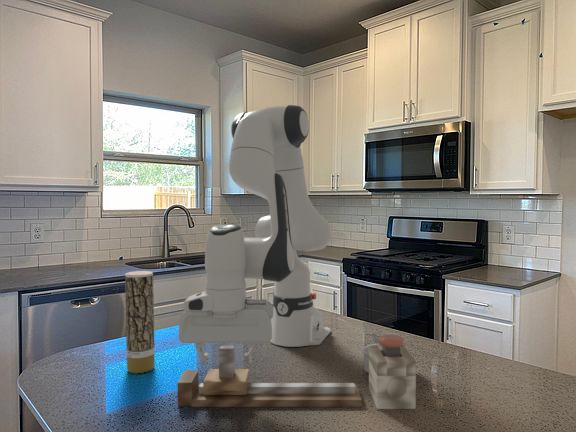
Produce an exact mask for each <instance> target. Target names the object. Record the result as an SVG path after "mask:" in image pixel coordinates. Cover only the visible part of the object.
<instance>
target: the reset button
mask: <svg viewBox="0 0 576 432" xmlns="http://www.w3.org/2000/svg"><path fill="white" fill-rule="evenodd" d="M378 338H379V344H380V345H381V346H382V354H383V356H384V357H400V347H402V346H404V345H405V344H404V343H405V341H404V337H402V336H400V335H396V334H382V335H380V336H379V337H378Z"/></svg>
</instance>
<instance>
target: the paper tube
mask: <svg viewBox="0 0 576 432" xmlns="http://www.w3.org/2000/svg"><path fill="white" fill-rule="evenodd" d="M124 278H125V279H124V280H125V281H124V282H125V283H124V287H125V293H124V294H125V327H126V328H125V330H126V331H125V332H126V333H125V334H126V335H125V337H126V339H125V340H126V342H125V343H126V369H127V372H128V373H131V374H138V373H140V374H145V373H144V372H146V373H149V372H151V371H153V369H154V368H155V363H156V362H155V361H156V360H155V303H154V300H155V299H154V295H155V294H154V271H149V270H136V271H129V272H126V273H125V276H124ZM148 371H149V372H148Z"/></svg>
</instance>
